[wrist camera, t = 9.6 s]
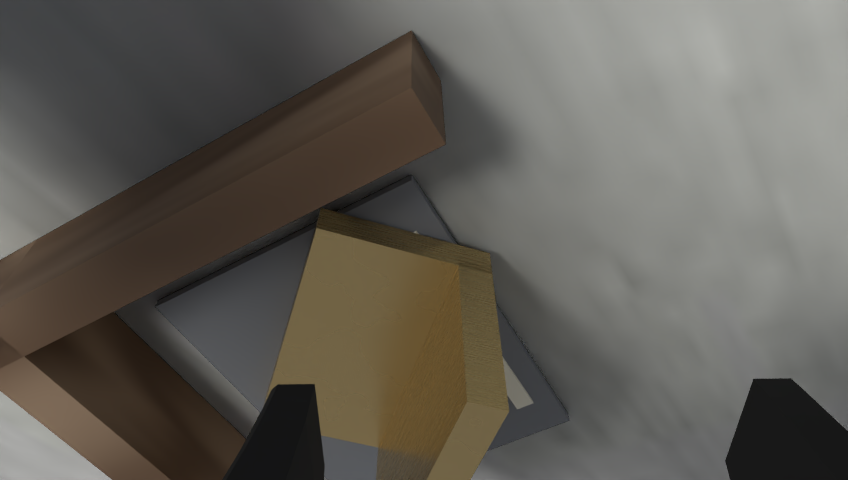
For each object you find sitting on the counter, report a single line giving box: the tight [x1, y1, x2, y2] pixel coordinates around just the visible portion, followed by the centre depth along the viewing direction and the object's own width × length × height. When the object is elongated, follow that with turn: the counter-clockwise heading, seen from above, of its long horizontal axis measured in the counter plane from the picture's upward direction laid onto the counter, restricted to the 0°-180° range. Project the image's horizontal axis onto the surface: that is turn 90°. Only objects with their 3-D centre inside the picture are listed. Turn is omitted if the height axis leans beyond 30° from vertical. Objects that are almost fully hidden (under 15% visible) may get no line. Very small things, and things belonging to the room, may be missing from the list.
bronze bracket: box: [263, 208, 509, 480], centre depth 21 cm, size 8×5×6 cm, turn 162°
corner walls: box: [0, 31, 446, 480], centre depth 22 cm, size 14×14×4 cm
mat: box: [155, 175, 569, 480], centre depth 24 cm, size 11×9×1 cm
